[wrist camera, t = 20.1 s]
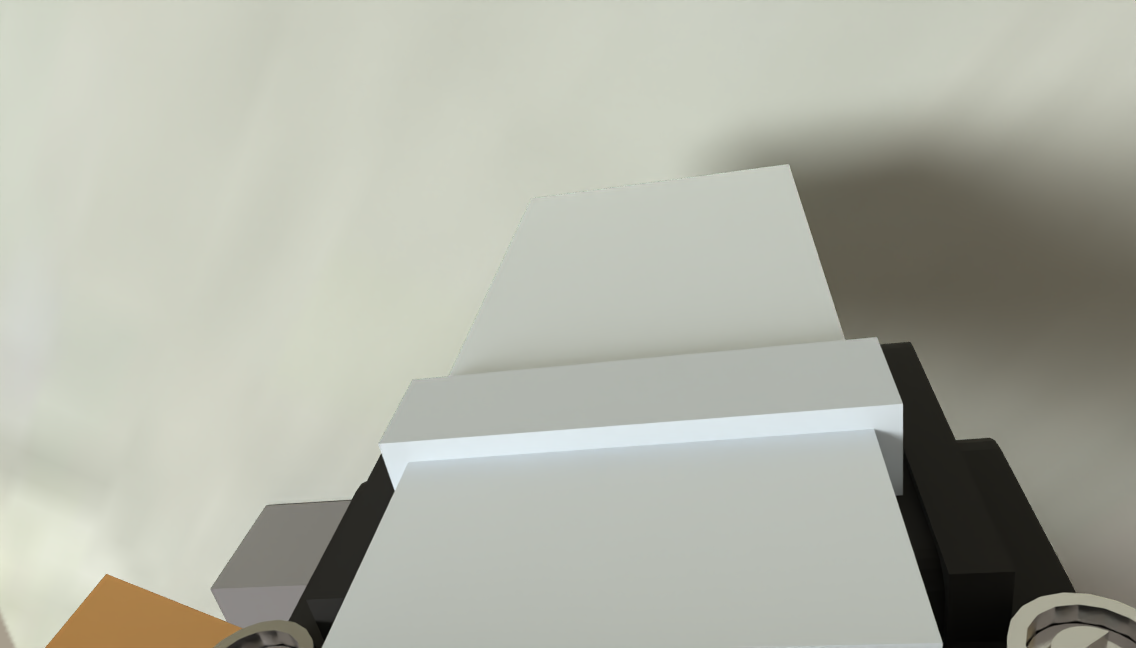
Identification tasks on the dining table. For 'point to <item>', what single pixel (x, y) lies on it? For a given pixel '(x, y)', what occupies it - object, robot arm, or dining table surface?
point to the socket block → (276, 561)
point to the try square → (137, 621)
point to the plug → (649, 445)
